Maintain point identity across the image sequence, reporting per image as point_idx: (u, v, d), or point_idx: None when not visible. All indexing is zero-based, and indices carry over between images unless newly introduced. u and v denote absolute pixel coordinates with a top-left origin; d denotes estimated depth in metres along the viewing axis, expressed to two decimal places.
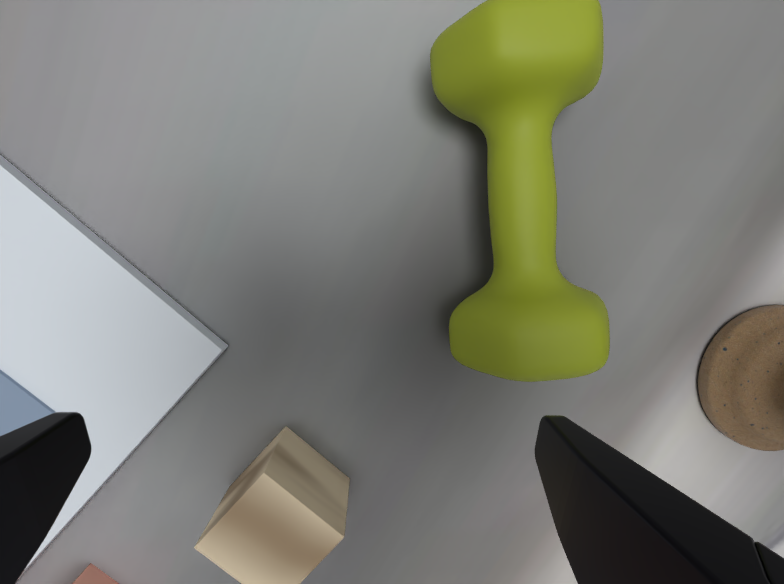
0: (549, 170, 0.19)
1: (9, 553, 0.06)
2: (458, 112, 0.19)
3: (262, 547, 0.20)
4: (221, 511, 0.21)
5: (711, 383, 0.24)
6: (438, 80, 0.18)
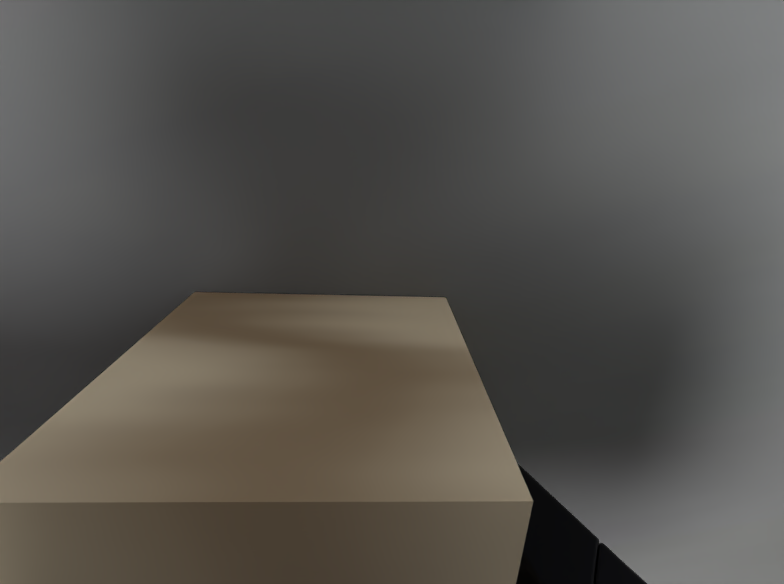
0: None
1: None
2: None
3: None
4: (175, 410, 0.05)
5: None
6: None
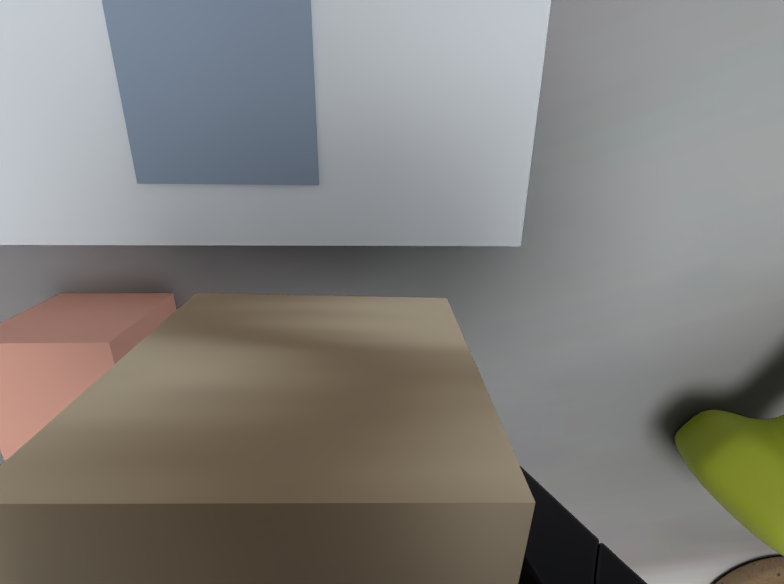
0: None
1: None
2: None
3: None
4: (177, 411, 0.05)
5: None
6: None
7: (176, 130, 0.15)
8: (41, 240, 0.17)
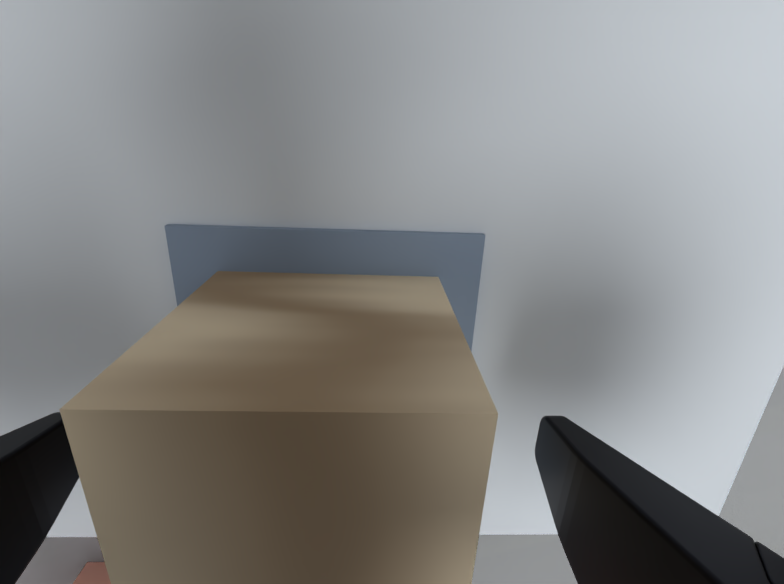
0: None
1: (9, 553, 0.06)
2: None
3: (263, 559, 0.06)
4: (215, 355, 0.06)
5: None
6: None
7: None
8: (66, 532, 0.12)
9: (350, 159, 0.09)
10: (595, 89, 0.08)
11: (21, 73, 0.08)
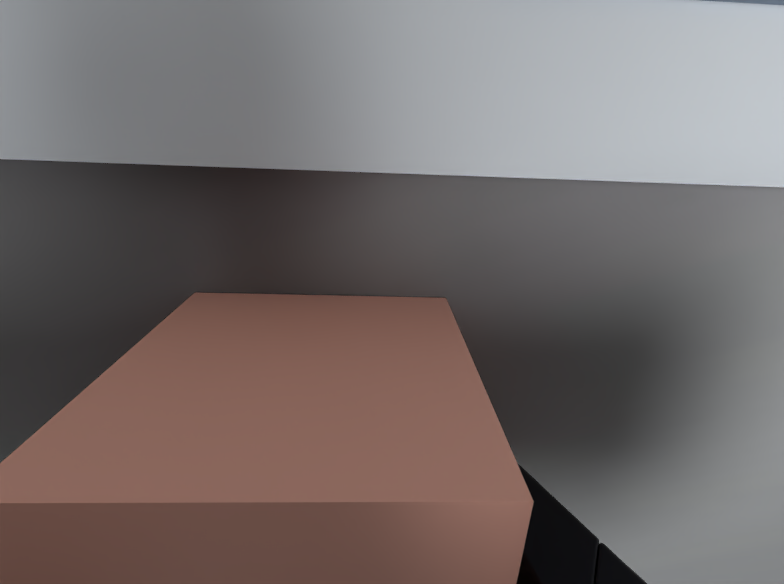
0: None
1: None
2: None
3: None
4: None
5: None
6: None
7: None
8: (186, 153, 0.06)
9: None
10: None
11: None
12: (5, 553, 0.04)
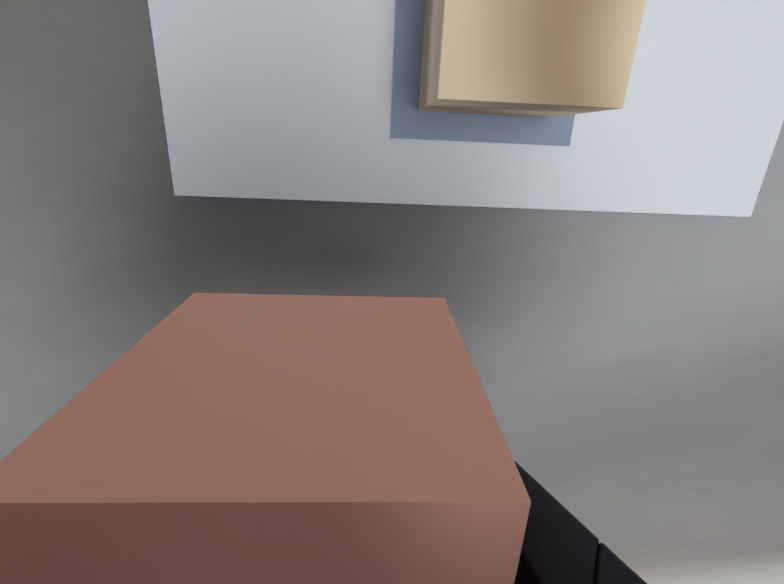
0: None
1: None
2: None
3: None
4: None
5: None
6: None
7: None
8: (279, 194, 0.17)
9: None
10: None
11: None
12: (3, 553, 0.04)
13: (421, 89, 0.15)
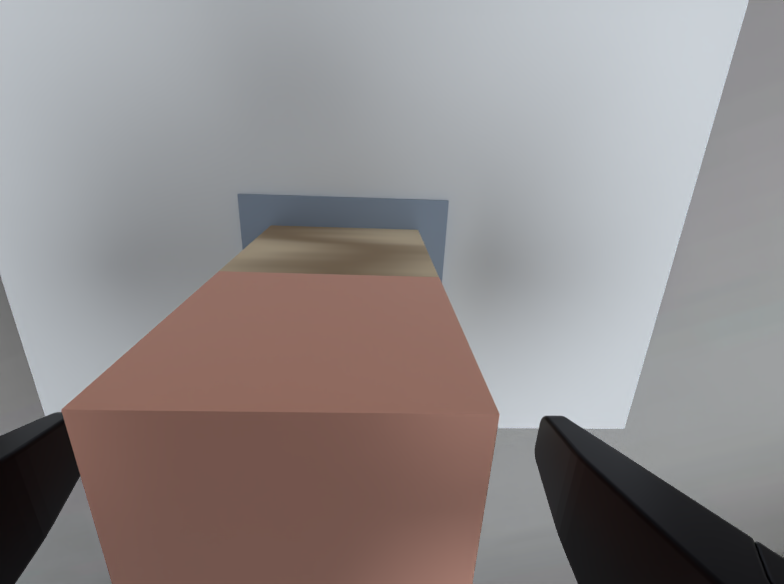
0: None
1: (9, 553, 0.06)
2: None
3: None
4: (286, 257, 0.11)
5: None
6: None
7: None
8: None
9: (359, 150, 0.13)
10: (517, 105, 0.13)
11: (152, 96, 0.13)
12: (95, 451, 0.05)
13: None
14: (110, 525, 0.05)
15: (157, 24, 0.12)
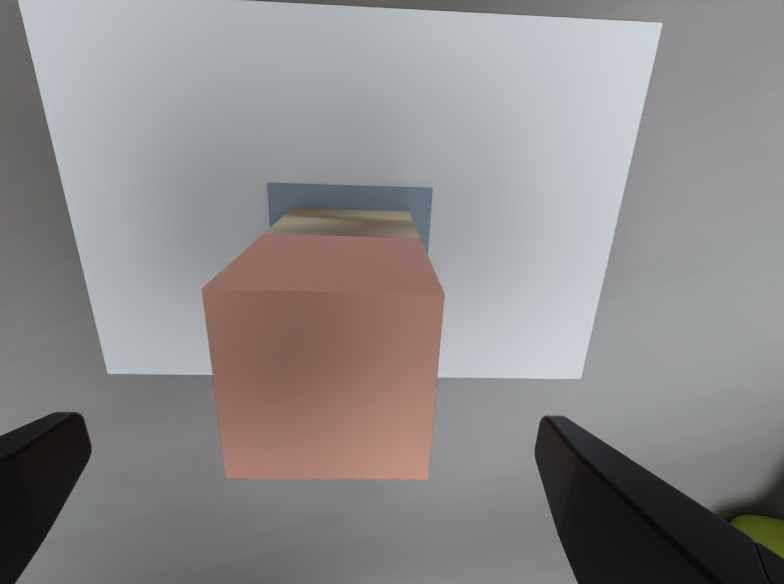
0: None
1: (9, 553, 0.06)
2: None
3: None
4: (309, 226, 0.14)
5: None
6: None
7: None
8: (192, 371, 0.21)
9: (362, 148, 0.17)
10: (485, 113, 0.17)
11: (203, 106, 0.16)
12: (217, 315, 0.09)
13: None
14: (220, 364, 0.09)
15: (209, 52, 0.16)
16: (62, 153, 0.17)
